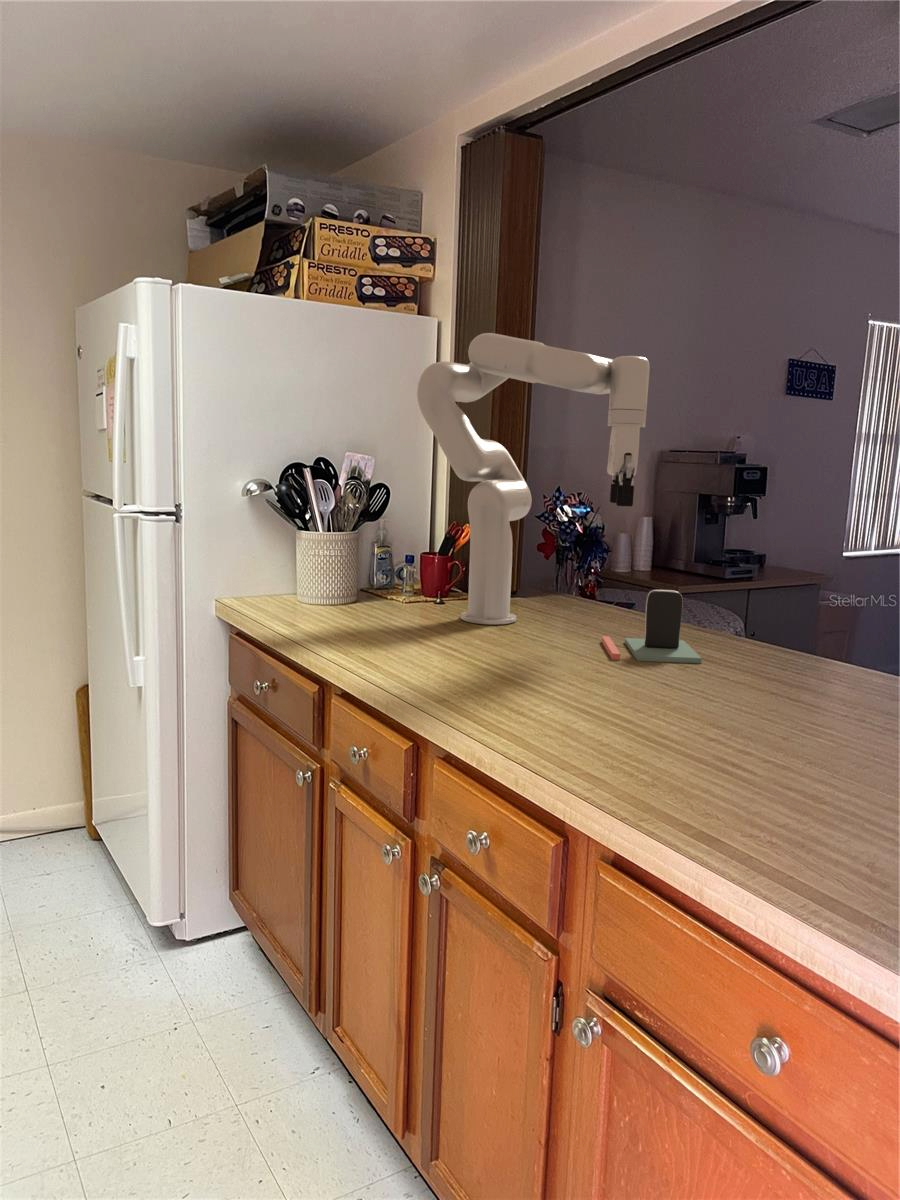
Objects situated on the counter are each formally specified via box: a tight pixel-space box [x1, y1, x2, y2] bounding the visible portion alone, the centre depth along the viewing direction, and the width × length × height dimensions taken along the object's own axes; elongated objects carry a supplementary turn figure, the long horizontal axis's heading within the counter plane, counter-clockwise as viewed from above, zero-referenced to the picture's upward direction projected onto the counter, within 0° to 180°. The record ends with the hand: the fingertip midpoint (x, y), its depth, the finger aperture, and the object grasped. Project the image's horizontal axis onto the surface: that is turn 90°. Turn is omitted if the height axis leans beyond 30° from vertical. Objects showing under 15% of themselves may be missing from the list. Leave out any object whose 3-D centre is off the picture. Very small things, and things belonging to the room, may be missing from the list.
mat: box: [624, 637, 703, 664], centre depth 181 cm, size 16×12×1 cm
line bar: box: [601, 635, 621, 661], centre depth 181 cm, size 16×2×1 cm, turn 178°
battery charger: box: [644, 588, 684, 648], centre depth 181 cm, size 7×4×11 cm, turn 86°
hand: (620, 504), depth 188 cm, fingers open, 9 cm apart
